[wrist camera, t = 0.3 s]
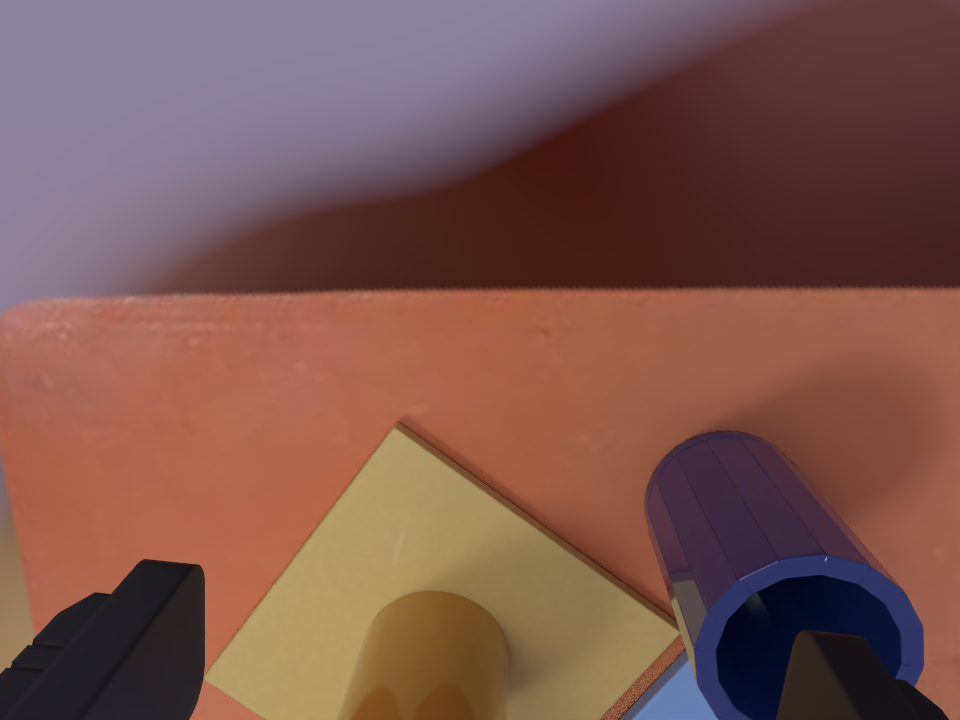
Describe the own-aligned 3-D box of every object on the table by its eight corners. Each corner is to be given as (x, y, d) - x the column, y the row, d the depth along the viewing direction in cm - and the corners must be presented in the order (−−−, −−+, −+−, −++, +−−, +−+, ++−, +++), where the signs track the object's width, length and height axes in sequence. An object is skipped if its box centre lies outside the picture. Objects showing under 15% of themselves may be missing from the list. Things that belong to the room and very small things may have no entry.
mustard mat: (397, 420, 31) (394, 427, 31) (678, 621, 33) (682, 633, 32) (209, 667, 35) (202, 679, 34) (472, 841, 36) (471, 856, 35)
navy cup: (713, 399, 30) (800, 513, 21) (834, 491, 31) (973, 643, 21) (612, 515, 32) (649, 672, 22) (730, 601, 32) (816, 790, 23)
